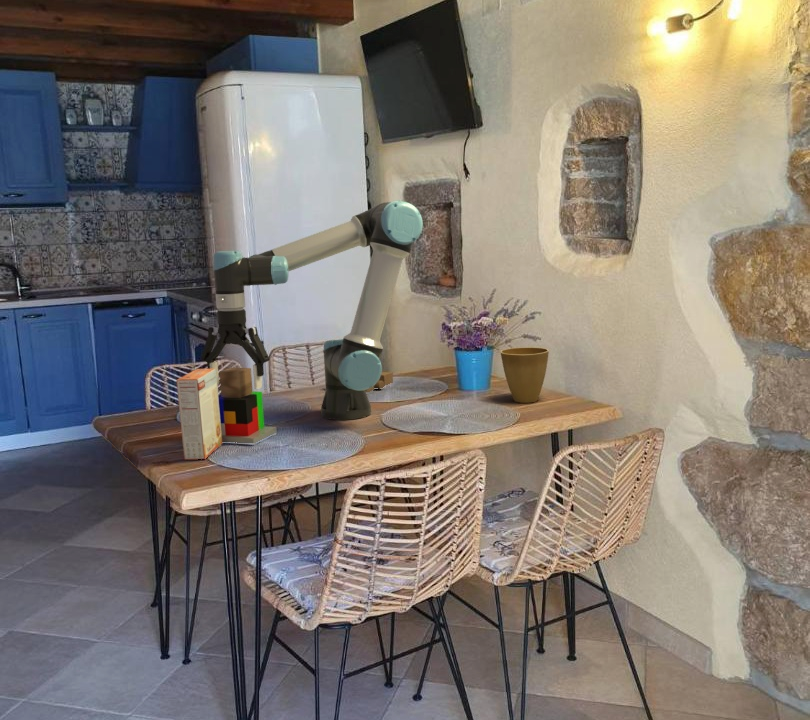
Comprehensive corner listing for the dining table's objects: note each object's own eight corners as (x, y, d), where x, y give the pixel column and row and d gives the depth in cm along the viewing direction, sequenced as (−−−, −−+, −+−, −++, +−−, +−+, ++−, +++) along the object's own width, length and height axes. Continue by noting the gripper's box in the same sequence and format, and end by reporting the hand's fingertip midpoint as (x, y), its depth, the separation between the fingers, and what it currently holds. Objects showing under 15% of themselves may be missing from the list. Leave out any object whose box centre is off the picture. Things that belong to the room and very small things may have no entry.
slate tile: (276, 434, 226) (276, 427, 225) (253, 445, 214) (253, 438, 214) (227, 430, 231) (227, 423, 231) (202, 441, 220) (202, 434, 220)
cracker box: (201, 445, 217) (195, 368, 213) (223, 445, 216) (217, 367, 213) (182, 460, 203) (175, 378, 200) (205, 460, 203) (198, 378, 199)
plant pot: (547, 395, 263) (547, 346, 260) (550, 405, 248) (550, 353, 245) (501, 395, 264) (500, 347, 262) (501, 406, 250) (500, 354, 247)
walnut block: (252, 393, 223) (250, 368, 221) (240, 398, 217) (238, 372, 216) (233, 392, 225) (232, 367, 224) (221, 397, 219) (219, 371, 218)
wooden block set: (368, 379, 272) (325, 375, 281) (369, 395, 273) (326, 391, 282) (395, 370, 286) (353, 367, 295) (395, 386, 287) (353, 382, 296)
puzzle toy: (214, 435, 219) (211, 398, 217) (231, 425, 229) (228, 390, 227) (248, 436, 217) (245, 399, 215) (264, 426, 226) (261, 391, 224)
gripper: (183, 310, 218) (189, 387, 222) (264, 311, 209) (269, 391, 213) (200, 307, 225) (205, 382, 228) (279, 307, 216) (283, 386, 219)
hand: (236, 387), depth 220 cm, fingers open, 13 cm apart
